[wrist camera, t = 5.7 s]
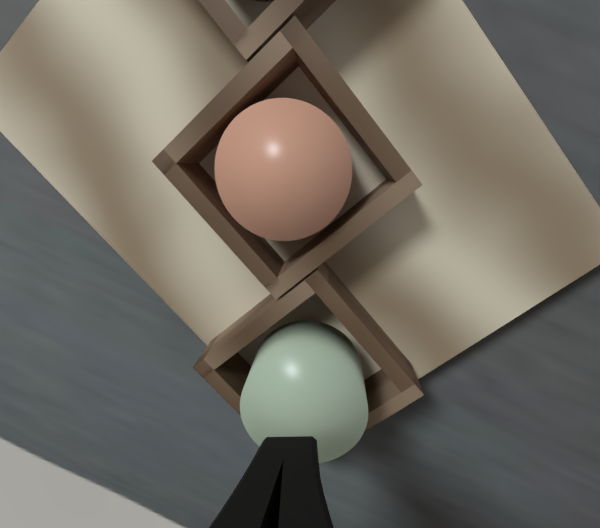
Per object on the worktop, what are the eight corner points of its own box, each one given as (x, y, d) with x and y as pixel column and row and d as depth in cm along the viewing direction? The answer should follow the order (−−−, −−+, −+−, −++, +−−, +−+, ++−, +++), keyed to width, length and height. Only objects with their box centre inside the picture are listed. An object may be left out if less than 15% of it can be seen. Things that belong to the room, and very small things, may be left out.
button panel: (270, -253, 12) (247, -415, 8) (603, 241, 15) (679, 263, 12) (-6, 101, 15) (-97, 85, 12) (308, 431, 19) (304, 488, 15)
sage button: (314, 299, 14) (311, 329, 11) (383, 378, 15) (395, 423, 12) (233, 360, 15) (213, 400, 12) (301, 432, 16) (295, 483, 13)
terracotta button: (297, 82, 13) (289, 64, 11) (371, 178, 14) (380, 181, 11) (212, 164, 14) (186, 165, 12) (285, 248, 15) (276, 266, 12)
